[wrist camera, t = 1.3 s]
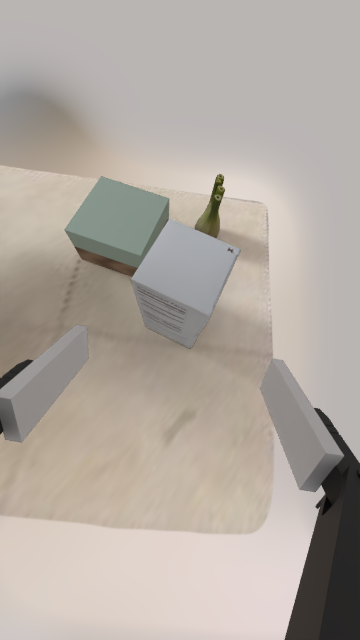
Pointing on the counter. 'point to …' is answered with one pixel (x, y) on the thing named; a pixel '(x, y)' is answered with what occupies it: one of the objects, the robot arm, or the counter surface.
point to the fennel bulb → (212, 211)
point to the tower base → (107, 261)
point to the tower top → (119, 221)
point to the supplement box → (182, 281)
